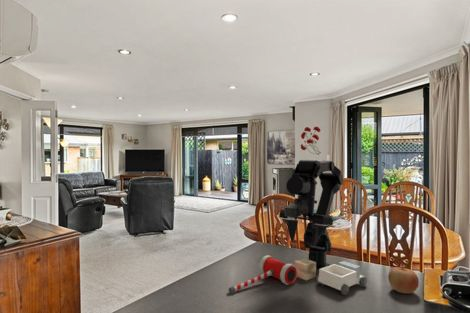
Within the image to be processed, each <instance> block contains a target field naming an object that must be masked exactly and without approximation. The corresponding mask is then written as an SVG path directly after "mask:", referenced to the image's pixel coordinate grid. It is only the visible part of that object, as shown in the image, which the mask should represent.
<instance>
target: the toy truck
mask: <svg viewBox="0 0 470 313" xmlns="http://www.w3.org/2000/svg"><path fill="white" fill-rule="evenodd" d="M367 283H368V279H367V277H365V275H362V274H361V266H360V265H357V264H355V263H354V264H353V263H350V262H348V261H345V260H343V261H340V262H338V264H335V263H333V264H331V265H330V266H327V267H324V268H321V269H318V275H317V274H316V277H315V284H316V285H319V286H321V285H322V284H324V285H326V286H329V287H331V288H333V289H335V290H338V291H340V292H341V295H342V296H348V295H349V292H350V287H351V286H355V285H357V284H359V286H360V287H362V288H365V287H366V286H367Z"/></svg>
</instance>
